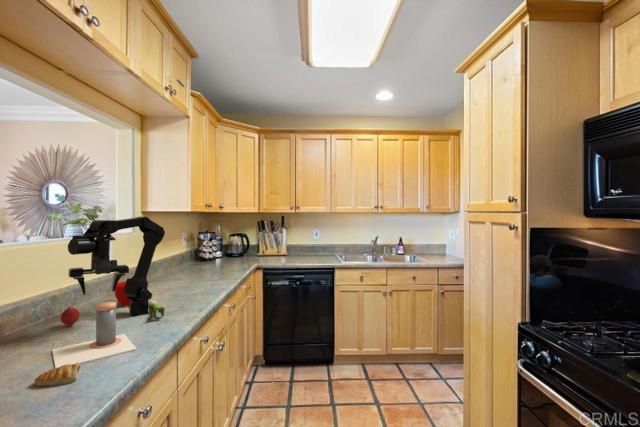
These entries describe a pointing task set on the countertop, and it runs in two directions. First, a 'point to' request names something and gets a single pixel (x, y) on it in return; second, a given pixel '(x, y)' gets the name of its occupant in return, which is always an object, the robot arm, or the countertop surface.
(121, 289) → the ceramic cup
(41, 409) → the countertop surface
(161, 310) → the celery
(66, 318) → the onion
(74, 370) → the pastry
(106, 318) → the tube
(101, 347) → the card
